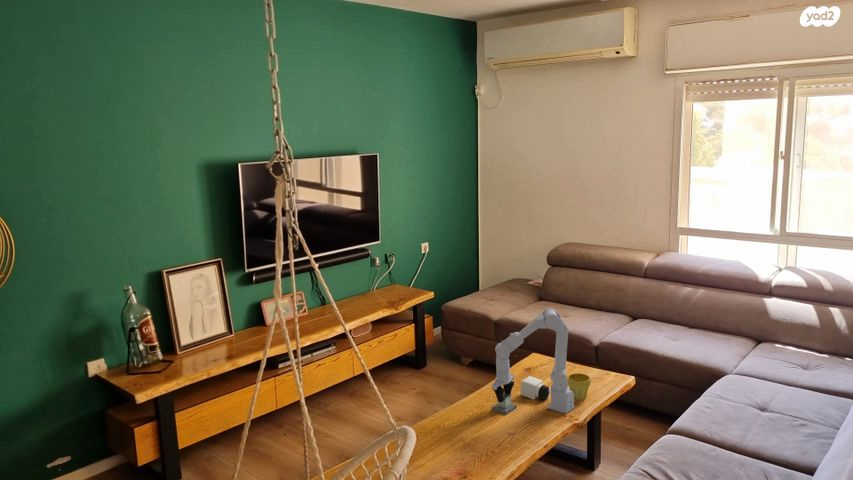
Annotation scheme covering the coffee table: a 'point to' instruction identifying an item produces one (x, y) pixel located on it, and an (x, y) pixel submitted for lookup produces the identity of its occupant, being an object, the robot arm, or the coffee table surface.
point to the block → (503, 410)
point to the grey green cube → (505, 401)
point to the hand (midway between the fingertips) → (503, 399)
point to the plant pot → (579, 385)
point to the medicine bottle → (534, 388)
